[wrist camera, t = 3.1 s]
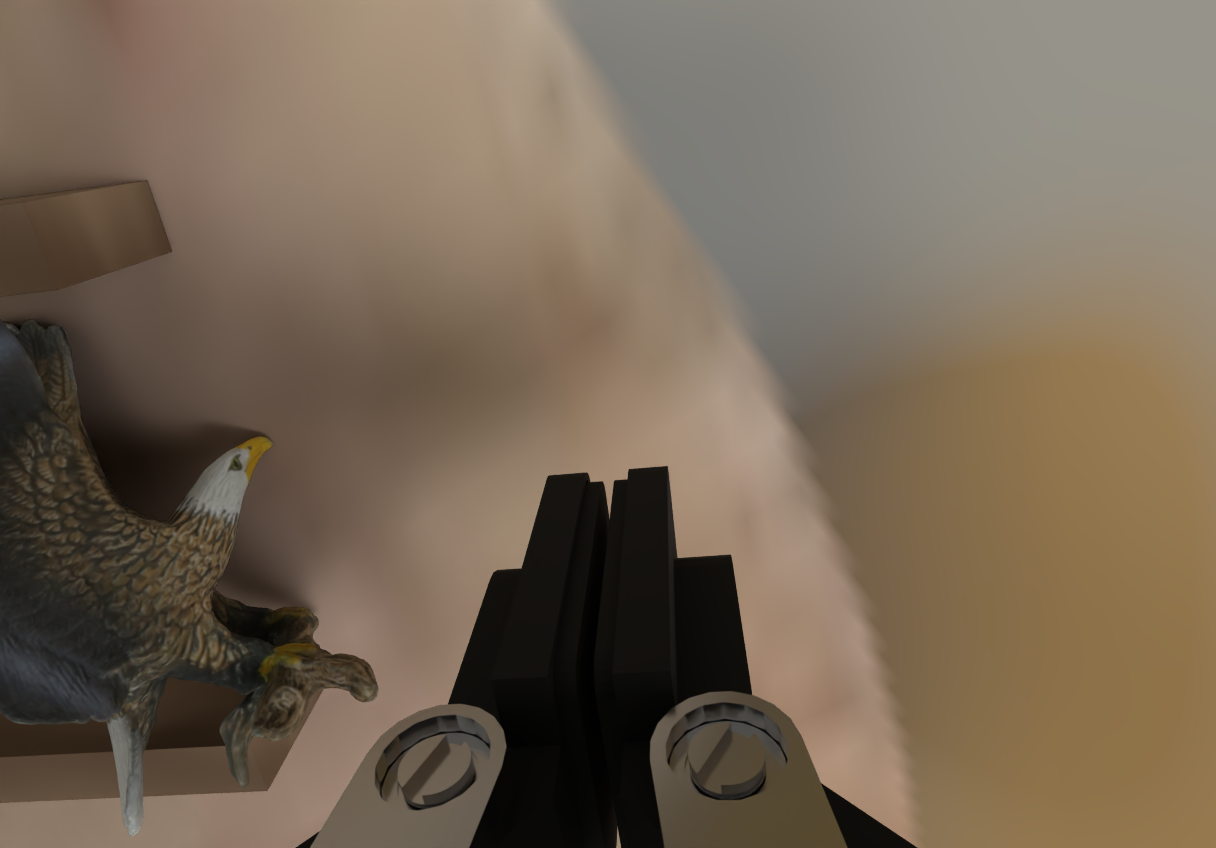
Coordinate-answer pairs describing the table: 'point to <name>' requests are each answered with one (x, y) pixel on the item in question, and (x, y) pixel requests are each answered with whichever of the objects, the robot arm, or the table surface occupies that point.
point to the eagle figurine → (131, 586)
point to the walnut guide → (188, 710)
